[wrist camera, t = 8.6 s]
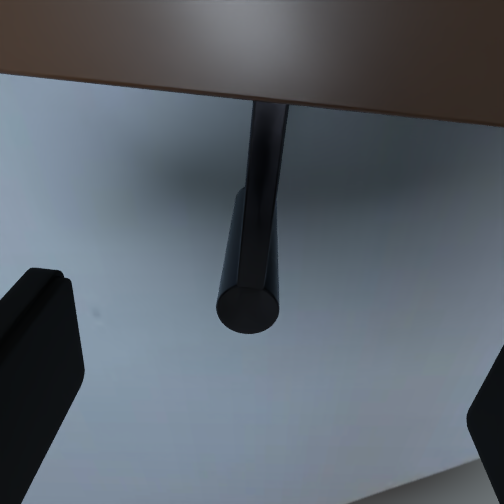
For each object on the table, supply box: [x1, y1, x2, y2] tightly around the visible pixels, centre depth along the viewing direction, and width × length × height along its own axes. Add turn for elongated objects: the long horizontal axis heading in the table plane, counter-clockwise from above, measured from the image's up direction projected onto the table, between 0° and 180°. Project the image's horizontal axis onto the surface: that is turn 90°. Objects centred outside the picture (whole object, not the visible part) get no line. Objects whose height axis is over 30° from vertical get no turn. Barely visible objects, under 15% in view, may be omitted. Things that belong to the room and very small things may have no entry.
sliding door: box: [216, 101, 289, 334], centre depth 12 cm, size 7×7×9 cm
